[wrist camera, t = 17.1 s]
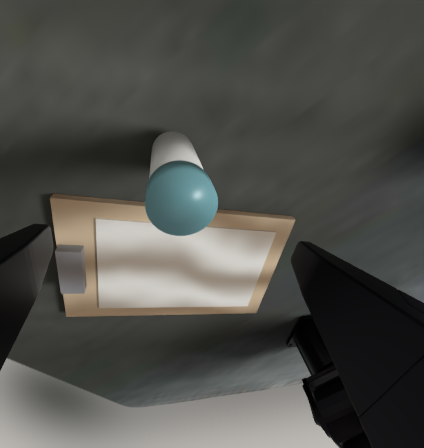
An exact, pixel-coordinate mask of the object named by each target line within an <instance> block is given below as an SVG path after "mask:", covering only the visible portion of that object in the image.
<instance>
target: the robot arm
mask: <svg viewBox="0 0 424 448" xmlns="http://www.w3.org/2000/svg"><path fill="white" fill-rule="evenodd" d="M52 253H53V240H52V233H51V228H50V226H49V225H46V224H32V225H30V226H28V227H25V228H23V229H21V230H19V231H16V232H14V233H12V234H9V235H7V236H5V237H2V238H0V370H1V368H2V366H3V364H4V362H5V360H6V358H7V356H8V354H9V352H10V350H11V348H12V346H13V344H14V342H15V340H16V338H17V336H18V334H19V332H20V330H21V328H22V326H23V324H24V322H25V320H26V318H27V316H28V314H29V312H30V310H31V308H32V306H33V304H34V302H35V300H36V298H37V296H38V293H39V291H40V288H41V285H42V282H43V280H44V277H45V274H46V271H47V268H48V265H49V262H50V259H51V256H52ZM291 264H292V267H293V270H294V273H295V276H296V279H297V281H298V284H299V287H300V290H301V293H302V295H303V298H304V300H305V302H306V304H307V307H308V309H309V311H310V313H311V315H312V317H302V318H300V320H299V321H298V323H297V325H296V327H295V329H294V330H293V332H292V334H291V336H290V338H289V339H288V341H287V343H286V344H287V346H288V347H297V348H298V350H299V352H300V354H301V356H302V358H303V360H304V362H305V364H306V366H307V368H308V370H309V372H310V374H311V376H310V377H308V378H304V379H302V381H303V384H304V385H303V389H304V391H305V393H306V395H307V397H308V400H309V404H310V407H311V411H312V414H313V418H314V421H315V423H316V424H317V425H319V426H321V427H322V429H323V430H324V431H325V433H326V434H327V436H328V437H330V438H332V440H333V441H334V442H335V443H336V444H337V446H338V447H339V448H424V303H423V302H421V301H419V300H417V299H415V298H413V297H411V296H409V295H408V294H406V293H404V292H402V291H400V290H397V289H396V288H394V287H393V286H391V285H389V284H387V283H385V282H383V281H381V280H379V279H378V278H376V277H374V276H372V275H370V274H368V273H366V272H365V271H363V270H361V269H359V268H357V267H355V266H353V265H351V264H350V263H348V262H346V261H344V260H342V259H340V258H338V257H336V256H335V255H333V254H331V253H329V252H327V251H325V250H323V249H322V248H320V247H318V246H316V245H314V244H312V243H310V242H305V241H300V242H298V243H297V245H296V247H295V250H294V252H293V254H292V256H291Z"/></svg>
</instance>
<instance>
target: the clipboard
mask: <svg viewBox="0 0 424 448" xmlns="http://www.w3.org/2000/svg"><path fill="white" fill-rule="evenodd" d="M50 203H51V210H52V217H53V224H54V232H55V239H56V246H57V249H56V250H55V256H56V263H57V270H58V277H59V284H60V291H61V294H63V297H64V304H65V311H66V317H77V316H129V315H181V314H233V313H256V312H257V310H258V308H259V305H260V303H261V300H262V298H263V296H264V293H265V291H266V289H267V286H268V284H269V282H270V279H271V277H272V274H273V272H274V270H275V267H276V265H277V263H278V260H279V258H280V256H281V253H282V251H283V248H284V246H285V244H286V241H287V239H288V237H289V234H290V232H291V229H292V227H293V225H294V222H295V219H294V218H293V217H292V216H284V215H274V214H263V213H253V212H242V211H232V210H221V209H217V212H216V214H215V216H214V218H213V220H212V221H211V222H210V224H209V225H208V226H206V227H205V228H204V229H202V230H201V231H199V232H197V233H194V234H191V235H187V236H175V235H170V234H167V233H164V232H162V231H160V230H159V229H157V228H156V227H155V226H154V225H153V224H152V223H151V221H150V220H149V218H148V216H147V213H146V209H145V202H137V201H126V200H116V199H105V198H95V197H84V196H73V195H63V194H53V195H52V196H51V197H50Z"/></svg>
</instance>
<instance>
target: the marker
mask: <svg viewBox="0 0 424 448" xmlns="http://www.w3.org/2000/svg"><path fill="white" fill-rule="evenodd" d="M217 208H218V197H217V193H216V191H215V189H214V186H213V184H212V182H211V180H210V178H209V176H208V175H207V173H206V172H205V171H204V170H203V167H202V165H201V163H200V161H199V159H198V156H197V154H196V152H195V150H194V148H193V145H192V143H191V141H190V140H189V139H188V138H187V137H186V136H185V135H183V134H182V133H179V132H175V131H169V132H165V133H163V134H161V135H159V136H158V137H157V138H156V140H155V141H154V143H153V146H152V152H151V164H150V177H149V180H148V183H147V188H146V198H145V209H146V213H147V216H148V218H149V220H150V221H151V223H152V224H153V225H154V226H155V227H156V228H157V229H159V230H160V231H162V232H164V233H167V234H170V235H175V236H187V235H191V234H194V233H197V232H199V231H201V230H202V229H204V228H205V227H206V226H208V225H209V224H210V222H211V221H212V220H213V218H214V216H215V214H216V212H217Z"/></svg>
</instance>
